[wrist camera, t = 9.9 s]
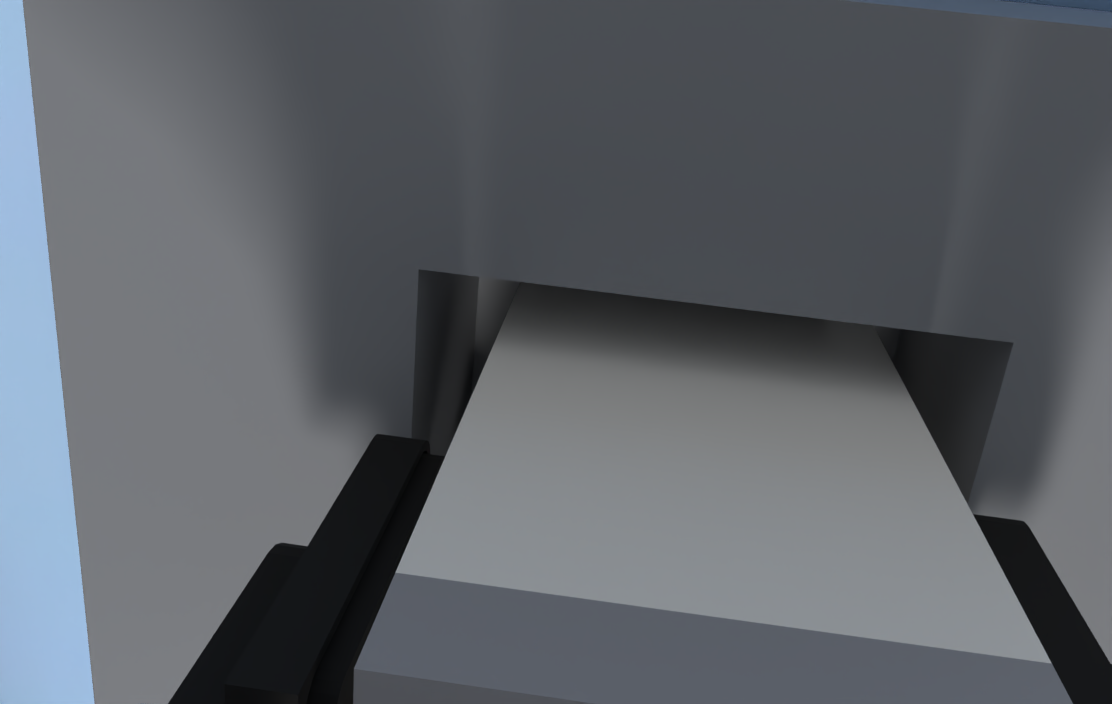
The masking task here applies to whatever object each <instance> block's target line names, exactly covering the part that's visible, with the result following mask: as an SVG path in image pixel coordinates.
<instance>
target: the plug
mask: <svg viewBox="0 0 1112 704" xmlns="http://www.w3.org/2000/svg"><path fill="white" fill-rule="evenodd" d="M353 704H1073V703H1072V701H1071V699H1070V697H1069V695H1068V693H1067V691H1066V689H1065V688H1064V686H1063V684H1062V682H1061V680H1060V678H1059V676H1058V674H1057V672H1056V671H1055V669H1054V667H1053V665H1052V663H1051V661H1050V659H1049V657H1048V655H1047V654H1046V652H1045V650H1044V648H1043V646H1042V644H1041V642H1040V640H1039V638H1038V637H1037V635H1036V633H1035V631H1034V629H1033V627H1032V625H1031V623H1030V621H1029V620H1028V618H1027V616H1026V614H1025V612H1024V610H1023V608H1022V606H1021V604H1020V603H1019V601H1018V599H1017V597H1016V595H1015V593H1014V591H1013V589H1012V587H1011V585H1010V584H1009V582H1008V580H1007V578H1006V576H1005V574H1004V572H1003V570H1002V568H1001V567H1000V565H999V563H998V561H997V559H996V557H995V555H994V553H993V551H992V550H991V548H990V546H989V544H988V542H987V540H986V538H985V536H984V534H983V533H982V531H981V529H980V527H979V525H978V523H977V521H976V519H975V517H974V516H973V514H972V512H971V510H970V508H969V506H968V504H967V502H966V500H965V499H964V497H963V495H962V493H961V491H960V489H959V487H958V485H957V483H956V482H955V480H954V478H953V476H952V474H951V472H950V470H949V468H948V466H947V465H946V463H945V461H944V459H943V457H942V455H941V453H940V451H939V449H938V448H937V446H936V444H935V442H934V440H933V438H932V436H931V434H930V432H929V431H928V429H927V427H926V425H925V423H924V421H923V419H922V417H921V415H920V413H919V412H918V410H917V408H916V406H915V404H914V402H913V400H912V398H911V396H910V395H909V393H908V391H907V389H906V387H905V385H904V383H903V381H902V379H901V378H900V376H899V374H898V372H897V370H896V368H895V366H894V364H893V362H892V361H891V359H890V357H889V355H888V353H887V351H886V349H885V347H884V345H883V344H882V342H881V340H880V338H879V336H878V334H877V332H876V330H875V328H874V327H873V325H865V324H857V323H849V322H841V321H833V320H825V319H817V318H809V317H801V316H792V315H784V314H776V313H768V312H760V311H752V310H744V309H736V308H728V307H720V306H712V305H704V304H695V303H687V302H679V301H671V300H663V299H655V298H647V297H639V296H631V295H623V294H615V293H606V292H598V291H590V290H582V289H574V288H566V287H558V286H550V285H542V284H534V283H526V282H520V284H519V287H518V289H517V291H516V294H515V296H514V298H513V301H512V303H511V305H510V308H509V310H508V312H507V315H506V317H505V319H504V322H503V324H502V326H501V329H500V331H499V333H498V336H497V338H496V340H495V343H494V345H493V347H492V349H491V352H490V354H489V356H488V359H487V361H486V363H485V366H484V368H483V370H482V373H481V375H480V377H479V380H478V382H477V384H476V387H475V389H474V391H473V394H472V396H471V398H470V401H469V403H468V405H467V408H466V410H465V412H464V414H463V417H462V419H461V421H460V424H459V426H458V428H457V431H456V433H455V435H454V438H453V440H452V442H451V445H450V447H449V449H448V452H447V454H446V456H445V459H444V461H443V463H442V466H441V468H440V470H439V472H438V475H437V477H436V479H435V482H434V484H433V486H432V489H431V491H430V493H429V496H428V498H427V500H426V503H425V505H424V507H423V510H422V512H421V514H420V517H419V519H418V521H417V524H416V526H415V528H414V531H413V533H412V535H411V537H410V540H409V542H408V544H407V547H406V549H405V551H404V554H403V556H402V558H401V561H400V563H399V565H398V568H397V570H396V572H395V575H394V577H393V579H392V582H391V584H390V586H389V589H388V591H387V593H386V596H385V598H384V600H383V602H382V605H381V607H380V609H379V612H378V614H377V616H376V619H375V621H374V623H373V626H372V628H371V630H370V633H369V635H368V637H367V640H366V642H365V644H364V647H363V649H362V651H361V654H360V656H359V658H358V661H357V663H356V665H355V667H354V690H353Z"/></svg>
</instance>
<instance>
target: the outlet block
mask: <svg viewBox="0 0 1112 704" xmlns="http://www.w3.org/2000/svg"><path fill="white" fill-rule="evenodd" d="M23 7H24V17H25V27H26V37H27V46H28V56H29V66H30V76H31V85H32V95H33V105H34V115H35V124H36V134H37V144H38V154H39V164H40V173H41V183H42V193H43V203H44V212H45V222H46V232H47V242H48V251H49V261H50V271H51V281H52V290H53V300H54V310H55V320H56V330H57V339H58V349H59V359H60V369H61V378H62V388H63V398H64V408H65V417H66V427H67V437H68V447H69V457H70V466H71V476H72V486H73V496H74V505H75V515H76V525H77V535H78V544H79V554H80V564H81V574H82V583H83V593H84V603H85V613H86V623H87V632H88V642H89V652H90V662H91V671H92V681H93V691H94V701H95V704H141V703H144V704H168V703H169V701H170V700H171V698H172V697H173V695H174V694H175V692H176V691H177V689H178V688H179V686H180V685H181V683H182V682H183V680H184V679H185V677H186V676H187V674H188V673H189V671H190V670H191V668H192V667H193V665H194V664H195V662H196V661H197V659H198V658H199V656H200V655H201V653H202V652H203V650H204V648H205V647H206V645H207V644H208V642H209V641H210V639H211V638H212V636H213V635H214V633H215V632H216V630H217V629H218V627H219V626H220V624H221V623H222V621H223V620H224V618H225V617H226V615H227V614H228V612H229V611H230V609H231V608H232V606H233V605H234V603H235V602H236V600H237V599H238V597H239V596H240V594H241V593H242V591H243V590H244V588H245V587H246V585H247V584H248V582H249V581H250V579H251V578H252V576H253V575H254V573H255V572H256V570H257V569H258V567H259V566H260V564H261V562H262V561H263V559H264V558H265V556H266V555H267V553H268V552H269V551H270V550H271V549H272V548H273V546H274V545H275V544H279V543H288V544H295V545H302V546H308V545H309V543H310V541H311V540H312V538H313V536H314V535H315V533H316V531H317V530H318V528H319V526H320V525H321V523H322V521H323V520H324V518H325V517H326V515H327V513H328V512H329V510H330V508H331V507H332V505H333V503H334V502H335V500H336V498H337V497H338V495H339V493H340V492H341V490H342V488H343V487H344V485H345V483H346V482H347V480H348V479H349V477H350V475H351V474H352V472H353V470H354V469H355V467H356V465H357V464H358V462H359V460H360V459H361V457H362V455H363V454H364V452H365V450H366V449H367V447H368V445H369V444H370V442H371V441H372V439H373V437H374V436H375V435H376V434H384V435H391V436H398V437H406V438H413V439H421V440H428V441H429V444H430V454H432V455H439V456H446V454H447V452H448V449H449V447H450V445H451V442H452V440H453V438H454V435H455V433H456V431H457V428H458V426H459V424H460V421H461V419H462V417H463V414H464V412H465V410H466V408H467V405H468V403H469V401H470V398H471V396H472V394H473V391H474V389H475V387H476V384H477V382H478V380H479V377H480V375H481V373H482V370H483V368H484V366H485V363H486V361H487V359H488V356H489V354H490V352H491V349H492V347H493V345H494V343H495V340H496V338H497V336H498V333H499V331H500V329H501V326H502V324H503V322H504V319H505V317H506V315H507V312H508V310H509V308H510V305H511V303H512V301H513V298H514V296H515V294H516V291H517V289H518V287H519V284H520V282H526V283H534V284H542V285H550V286H558V287H566V288H574V289H582V290H590V291H598V292H606V293H615V294H623V295H631V296H639V297H647V298H655V299H663V300H671V301H679V302H687V303H695V304H704V305H712V306H720V307H728V308H736V309H744V310H752V311H760V312H768V313H776V314H784V315H792V316H801V317H809V318H817V319H825V320H833V321H841V322H849V323H857V324H865V325H873V327H874V328H875V330H876V332H877V334H878V336H879V338H880V340H881V342H882V344H883V345H884V347H885V349H886V351H887V353H888V355H889V357H890V359H891V361H892V362H893V364H894V366H895V368H896V370H897V372H898V374H899V376H900V378H901V379H902V381H903V383H904V385H905V387H906V389H907V391H908V393H909V395H910V396H911V398H912V400H913V402H914V404H915V406H916V408H917V410H918V412H919V413H920V415H921V417H922V419H923V421H924V423H925V425H926V427H927V429H928V431H929V432H930V434H931V436H932V438H933V440H934V442H935V444H936V446H937V448H938V449H939V451H940V453H941V455H942V457H943V459H944V461H945V463H946V465H947V466H948V468H949V470H950V472H951V474H952V476H953V478H954V480H955V482H956V483H957V485H958V487H959V489H960V491H961V493H962V495H963V497H964V499H965V500H966V502H967V504H968V506H969V508H970V510H971V512H972V514H977V515H984V516H992V517H999V518H1006V519H1014V520H1020V521H1024V522H1025V523H1026V524H1027V525H1028V526H1029V528H1030V529H1031V531H1032V533H1033V534H1034V536H1035V538H1036V539H1037V541H1038V543H1039V544H1040V546H1041V548H1042V549H1043V551H1044V553H1045V554H1046V556H1047V558H1048V559H1049V561H1050V563H1051V564H1052V566H1053V568H1054V569H1055V571H1056V573H1057V575H1058V576H1059V578H1060V580H1061V581H1062V583H1063V585H1064V586H1065V588H1066V590H1067V591H1068V593H1069V595H1070V596H1071V598H1072V600H1073V601H1074V603H1075V605H1076V606H1077V608H1078V610H1079V611H1080V613H1081V615H1082V616H1083V618H1084V620H1085V622H1086V623H1087V625H1088V627H1089V628H1090V630H1091V632H1092V633H1093V635H1094V637H1095V638H1096V640H1097V642H1098V643H1099V645H1100V647H1101V648H1102V650H1103V652H1104V653H1105V655H1106V657H1107V658H1108V660H1109V662H1110V663H1111V664H1112V12H1109V11H1100V10H1090V9H1080V8H1070V7H1061V6H1051V5H1041V4H1031V3H1022V2H1012V1H1002V0H23Z"/></svg>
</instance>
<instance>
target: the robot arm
mask: <svg viewBox="0 0 1112 704" xmlns="http://www.w3.org/2000/svg"><path fill="white" fill-rule="evenodd" d="M444 459H445V456H439V455H432V454H430V444H429V441H428V440H421V439H413V438H406V437H398V436H391V435H384V434H376V435H375V436H374V437H373V439H372V441H371V442H370V444H369V445H368V447H367V449H366V450H365V452H364V454H363V455H362V457H361V459H360V460H359V462H358V464H357V465H356V467H355V469H354V470H353V472H352V474H351V475H350V477H349V479H348V480H347V482H346V483H345V485H344V487H343V488H342V490H341V492H340V493H339V495H338V497H337V498H336V500H335V502H334V503H333V505H332V507H331V508H330V510H329V512H328V513H327V515H326V517H325V518H324V520H323V521H322V523H321V525H320V526H319V528H318V530H317V531H316V533H315V535H314V536H313V538H312V540H311V541H310V543H309V545H308V546H302V545H295V544H288V543H279V544H275V545H274V546H273V548H272V549H271V550H270V551H269V552H268V553H267V555H266V556H265V558H264V559H263V561H262V562H261V564H260V566H259V567H258V569H257V570H256V572H255V573H254V575H253V576H252V578H251V579H250V581H249V582H248V584H247V585H246V587H245V588H244V590H243V591H242V593H241V594H240V596H239V597H238V599H237V600H236V602H235V603H234V605H233V606H232V608H231V609H230V611H229V612H228V614H227V615H226V617H225V618H224V620H223V621H222V623H221V624H220V626H219V627H218V629H217V630H216V632H215V633H214V635H213V636H212V638H211V639H210V641H209V642H208V644H207V645H206V647H205V648H204V650H203V652H202V653H201V655H200V656H199V658H198V659H197V661H196V662H195V664H194V665H193V667H192V668H191V670H190V671H189V673H188V674H187V676H186V677H185V679H184V680H183V682H182V683H181V685H180V686H179V688H178V689H177V691H176V692H175V694H174V695H173V697H172V698H171V700H170V701H169V703H168V704H353V690H354V667H355V665H356V663H357V661H358V658H359V656H360V654H361V651H362V649H363V647H364V644H365V642H366V640H367V637H368V635H369V633H370V630H371V628H372V626H373V623H374V621H375V619H376V616H377V614H378V612H379V609H380V607H381V605H382V602H383V600H384V598H385V596H386V593H387V591H388V589H389V586H390V584H391V582H392V579H393V577H394V575H395V572H396V570H397V568H398V565H399V563H400V561H401V558H402V556H403V554H404V551H405V549H406V547H407V544H408V542H409V540H410V537H411V535H412V533H413V531H414V528H415V526H416V524H417V521H418V519H419V517H420V514H421V512H422V510H423V507H424V505H425V503H426V500H427V498H428V496H429V493H430V491H431V489H432V486H433V484H434V482H435V479H436V477H437V475H438V472H439V470H440V468H441V466H442V463H443V461H444ZM973 516H974V517H975V519H976V521H977V523H978V525H979V527H980V529H981V531H982V533H983V534H984V536H985V538H986V540H987V542H988V544H989V546H990V548H991V550H992V551H993V553H994V555H995V557H996V559H997V561H998V563H999V565H1000V567H1001V568H1002V570H1003V572H1004V574H1005V576H1006V578H1007V580H1008V582H1009V584H1010V585H1011V587H1012V589H1013V591H1014V593H1015V595H1016V597H1017V599H1018V601H1019V603H1020V604H1021V606H1022V608H1023V610H1024V612H1025V614H1026V616H1027V618H1028V620H1029V621H1030V623H1031V625H1032V627H1033V629H1034V631H1035V633H1036V635H1037V637H1038V638H1039V640H1040V642H1041V644H1042V646H1043V648H1044V650H1045V652H1046V654H1047V655H1048V657H1049V659H1050V661H1051V663H1052V665H1053V667H1054V669H1055V671H1056V672H1057V674H1058V676H1059V678H1060V680H1061V682H1062V684H1063V686H1064V688H1065V689H1066V691H1067V693H1068V695H1069V697H1070V699H1071V701H1072V703H1073V704H1112V664H1111V663H1110V662H1109V660H1108V658H1107V657H1106V655H1105V653H1104V652H1103V650H1102V648H1101V647H1100V645H1099V643H1098V642H1097V640H1096V638H1095V637H1094V635H1093V633H1092V632H1091V630H1090V628H1089V627H1088V625H1087V623H1086V622H1085V620H1084V618H1083V616H1082V615H1081V613H1080V611H1079V610H1078V608H1077V606H1076V605H1075V603H1074V601H1073V600H1072V598H1071V596H1070V595H1069V593H1068V591H1067V590H1066V588H1065V586H1064V585H1063V583H1062V581H1061V580H1060V578H1059V576H1058V575H1057V573H1056V571H1055V569H1054V568H1053V566H1052V564H1051V563H1050V561H1049V559H1048V558H1047V556H1046V554H1045V553H1044V551H1043V549H1042V548H1041V546H1040V544H1039V543H1038V541H1037V539H1036V538H1035V536H1034V534H1033V533H1032V531H1031V529H1030V528H1029V526H1028V525H1027V524H1026V523H1025V522H1024V521H1020V520H1014V519H1006V518H999V517H992V516H984V515H977V514H973ZM141 704H144V703H141Z"/></svg>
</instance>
